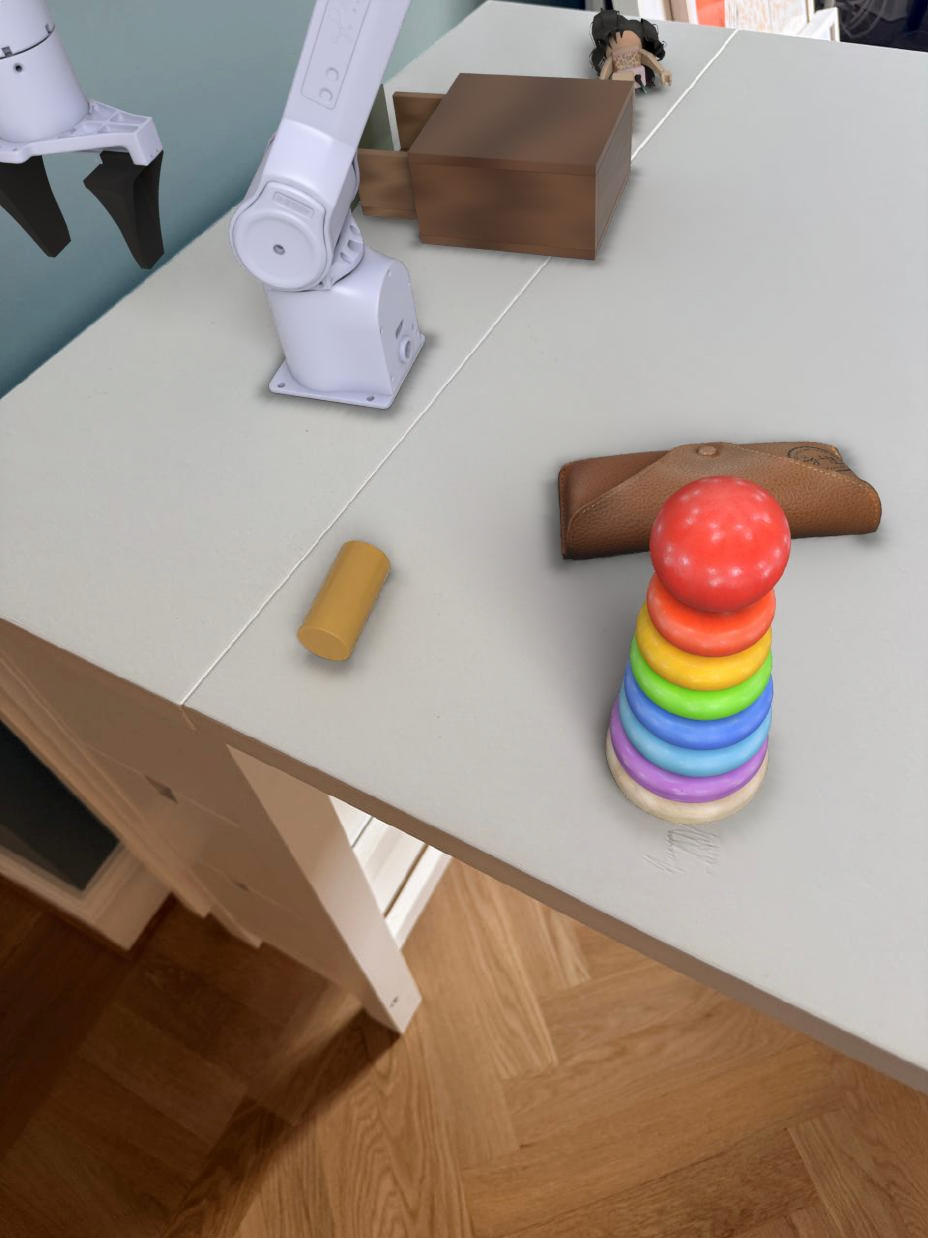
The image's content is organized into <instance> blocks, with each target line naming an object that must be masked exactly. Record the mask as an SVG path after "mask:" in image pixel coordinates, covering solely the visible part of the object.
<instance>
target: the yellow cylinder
mask: <svg viewBox="0 0 928 1238" xmlns="http://www.w3.org/2000/svg"><path fill="white" fill-rule="evenodd" d="M391 568H392V565H391V561H390V560H389V557H388V556H387V555H386V554H385V553H384V551H382V550H381V549H379V548H378V547H377V546H375V545H373V544H371V543H368V542H366V541H362V540H348V541H346V542H344V543H342V545H341V546H340V549H339V551H338V553H337V554H336V556H335V557H334V559H333V562H332V564H331V566H330V568H329V570H328V572H327V574H326V575H325V577H324V579H323V581H322V583H321V585H320V587H319V589H318V591H317V593H316V594H315V597H314V599H313V600H312V603H311V605H310V606H309V609H308V610H307V612H306V614H305V616H304V619H302V622H301V624H300V626H299V628H298V629H297V633H296V635H297V639H298V641H299V643H300V644H301V645H302V646H303V647H304V648H305V649H307V650H308V651H309V652H310V653H313V654H314V655H316V656H318V657H320V658H323V659H326V660H329V661H333V662H334V661H335V662H343V661H346V660H348V659H349V658H350V657H351V654H352V652H353V651H354V648H355V647H356V644H357V642H358V640H359V637H360V635H361V633H362V632H363V629H364V627H365V625H366V623H367V621H368V619H369V616H370V614H371V612H372V610H373V608H374V606H375V603H376V601H377V599H378V597H379V595H380V593H381V590H382V589H383V587H384V585H385V583H386V581H387V578H388V576H389V574H390V572H391V570H392V569H391Z"/></svg>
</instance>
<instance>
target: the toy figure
mask: <svg viewBox="0 0 928 1238" xmlns="http://www.w3.org/2000/svg"><path fill="white" fill-rule="evenodd" d="M599 9H600V11H599V12H598V13H597V14H595V15H594V16H593V19H592V21H591V23H590V25H589V27H591V30H589V36H590V39H591V41H592V44H593V46H594V47H593V50H592V51H591V52H590V54H589V55H588V58H591V59H588V61H589V64H590V65H591V69H594V70H595V72H596V77H598V79H606V80H628V81H634V100H633V114H635V113H634V112H635V98H636V89H640V88H641V90H642V91H643V92H644V94H646V95H647V93H648V89H647V88H646V86H648V87H649V88H652V87H656V86H657V85H656V84H655V82H654V81H655V79H656V75H657V76H658V77H660V81H659V82H660V83H659V84H660V85H661V87H662V88H663V87H665V83H667V85H668V87H669V88H671V86H672V83H673V82H672V81H673V74H672V72H671V71H670V70H665V68H664V66H663V65H662V64H661V63H660V62H661V61H663V60H664V59H665V57H666V50H665V48H666V47H667V45H668V44H667V43H665V41H664V40H660V38H659V37H660V36H659V31H658V30H659V26H658V25H657V24H656V23H651V22H650V21H649V20H647V19H645V18H643V17H641V18H640V20H639V19H634V18H633V19H632V18H631V19H628V18H627V17H625V16H624V15H623V14H620V10H616V9H604V8H603V7H600V8H599ZM657 58H658V59H657ZM603 62H604V63H603ZM601 66H602V67H601ZM610 76H611V77H610ZM609 78H611V79H609ZM633 129H634V125H632V130H633Z"/></svg>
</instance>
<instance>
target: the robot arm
mask: <svg viewBox="0 0 928 1238" xmlns="http://www.w3.org/2000/svg"><path fill="white" fill-rule="evenodd" d="M412 1H413V0H315V2H314V6H313V8H312V9H313V10H312V13H311V16H310V20H309V23H308V26H307V30H306V33H305V37H304V40H303V43H302V47H301V50H300V54H299V58H298V61H297V65H296V68H295V71H294V75H293V79H292V82H291V85H290V88H289V92H288V95H287V99H286V102H285V106H284V109H283V112H282V116H281V119H280V122H279V125H278V127H277V129H276V130H275V131H274V132H273V133H272V135H270V137H269V139H268V141H267V143H266V145H265V149H264V151H263V158H262V160H261V161H260V164H259V166H258V168H257V170H256V172H255V174H254V176H253V179H252V181H251V183H250V184H249V187H248V189H247V191H246V193H245V195H244V198H243V200H242V201H241V203H240V204H239V205H238V206H237V207H236V208H235V210H234V212H233V214H232V216H231V218H230V220H229V221H230V222H229V226H228V239H229V240H228V241H229V245H230V248H231V251H232V253H233V255H234V257H235V258H236V260H237V262H238V263H239V265H240V266H241V267H242V268H243V270H244V271H245V272H246V273H248V274H249V275H250V276H251V277H252V278H253V279H255V281H257V282H259V283H261V285H262V288H263V291H264V295H265V298H266V301H267V304H268V307H269V310H270V313H271V315H272V320H273V323H274V325H275V329H276V332H277V336H278V338H279V342H280V345H281V348H282V351H283V355H284V357H285V359H284V360H283V362H282V363H281V364H280V366H279V368H278V369H277V371H276V373H275V374H274V376H273V377H272V379H271V380H270V382H269V384H268V388H269V391H270V392H271V393H273V394H274V393H275V394H276V393H277V394H281V395H288V396H295V397H301V398H307V399H315V400H322V401H329V402H334V403H341V404H348V405H354V406H361V407H368V408H374V409H380V410H381V409H382V410H385V409H389V408H390V407H391V406H392V405H393V403H394V401H395V399H396V397H397V395H398V393H399V391H400V389H401V387H402V386H403V384H404V382H405V380H406V378H407V376H408V375H409V372H410V371H411V369H412V366H413V365H414V363H415V361H416V359H417V357H418V355H419V354H420V352H421V351H422V348H423V346H424V344H425V343H426V337H425V335H424V334H423V333H421V332H420V327H419V321H418V315H417V310H416V309H417V308H416V304H415V300H414V292H413V287H412V281H411V276H410V273H409V270H408V268H407V266H406V264H405V263H404V262H403V261H402V260H400V259H397V258H394V257H391V256H388V255H385V254H382V253H380V252H378V251H377V250H375V249H373V248H371V247H370V246H369V245H367V244H366V242H364V238H363V235H362V233H361V231H360V228H359V226H358V224H357V223H356V221H355V219H354V217H353V212H352V213H351V209H350V204H351V202H352V201H353V200H354V198H355V196H356V193H357V191H358V187H359V182H360V173H359V167H358V161H357V151H358V145H359V142H360V139H361V136H362V134H363V131H364V128H365V125H366V123H367V120H368V117H369V115H370V112H371V109H372V106H373V104H374V101H375V98H376V96H377V93H378V90H379V87H380V85H381V84H382V82H383V79H384V77H385V74H386V71H387V69H388V66H389V63H390V60H391V58H392V55H393V52H394V50H395V47H396V44H397V41H398V38H399V37H400V33H401V32H402V31H401V30H402V28H403V25H404V23H405V20H406V18H407V14H408V11H409V9H410V6H411V4H412ZM64 153H71V154H81V155H93V156H99V158H100V160H101V162H102V163H99V164H98V165H97V166H96V167H95V168H94V169H93V170H92V171H91V172H89V174H88V175H87V176H86V177H84V179H83V180H82V183H83V185H84V187H85V188H86V190H88V191H89V192H90V193H91V194H92V195H93V196H94V197H95V198H96V199H97V200H98V201H99V203H100V204H101V205H102V206H103V207H104V208H105V210H106V211H107V213H108V214H109V216H110V217H111V218H112V221H114V223H115V224H116V226H117V228H118V230H119V231H120V234H121V235H122V237H123V239H124V241H125V244H126V245H127V248H128V250H129V252H130V254H131V255H132V257H133V259H134V261H135V262H136V264H137V265H138V267H140V269H142V270H151V269H152V268H153V267H155V265H156V264H157V263H158V261H159V260H161V258H162V257H163V256H164V255H165V246H164V241H163V233H162V228H161V227H162V226H161V218H160V200H159V199H160V198H159V197H160V196H159V195H160V180H161V171H162V164H163V159H164V154H165V152H164V146H163V142H162V140H161V138H160V135H159V132H158V129H157V127H156V124H155V121H154V119H153V116H147V115H139V114H135V113H131V112H128V111H125V110H122V109H120V108H117V107H114V106H112V105H108V104H106V103H103V102H101V101H98V100H95V99H93V98H91V97H88V96H86V95H85V93H84V90H83V87H82V85H81V84H80V81H79V78H78V76H77V74H76V71H75V69H74V65H73V64H72V62H71V59H70V56H69V54H68V52H67V49H66V47H65V45H64V43H63V40H62V38H61V35H60V33H59V31H58V28H57V26H56V24H55V22H54V19H53V17H52V14H51V12H50V9H49V7H48V4H47V2H46V0H0V207H1V208H3V210H4V211H6V212H7V213H8V215H9V216H11V217H12V218H13V219H14V220H15V222H16V223H17V224H18V225H19V226H20V227H21V228H22V229H23V230H24V231H25V233H26V234H27V235H28V236H29V237H30V239H31V240H32V241H33V242H34V243H35V244H36V246H37V247H38V248H39V249H40V250H41V251H42V252H43V254H45V255H46V256H47V257H48V258H53V259H56V258H57V257H58V256H59V254H61V253H62V251H63V250H64V249H65V248H66V247H67V246H68V245H69V244H71V242H72V238H71V234H70V231H69V227H68V225H67V222H66V220H65V217H64V214H63V212H62V210H61V208H60V206H59V203H58V201H57V199H56V197H55V194H54V192H53V190H52V186H51V183H50V180H49V177H48V174H47V170H46V166H45V163H44V157H43V156H47V155H54V154H64Z"/></svg>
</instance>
